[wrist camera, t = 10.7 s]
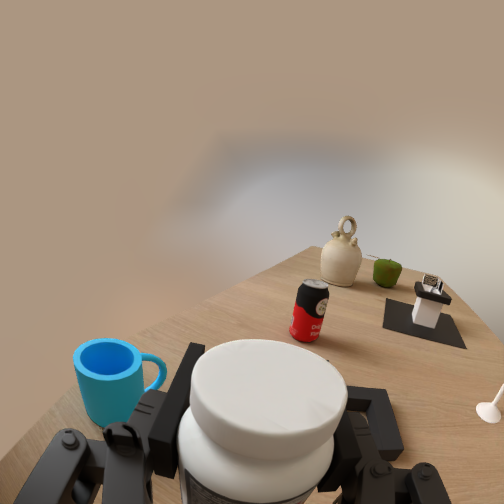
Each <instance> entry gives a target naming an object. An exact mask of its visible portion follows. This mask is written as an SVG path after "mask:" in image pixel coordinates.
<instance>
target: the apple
mask: <svg viewBox="0 0 504 504" xmlns="http://www.w3.org/2000/svg"><path fill="white" fill-rule="evenodd" d="M401 271H402V266H401V265H400V264H399V263H397V262H394V261H392V260H391V259H390V260H386V259H378V260H376V261H375V263H374V272H373V280H374V281H375V282H376V283H377V284H378V285H380V286H383V287H388V288H390V287H392V286H394V285H396V283H397V280H398V278H399V276H400V274H401Z"/></svg>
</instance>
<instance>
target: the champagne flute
mask: <svg viewBox="0 0 504 504" xmlns="http://www.w3.org/2000/svg"><path fill="white" fill-rule="evenodd" d="M503 394H504V384H503V385H502V387H501V389H500V391H499V392H498V394H497V396H496V397H495V399H494V401H493V402H492V403H490V402H482V403H479V404H478V405H477V406H476V411H477V413H478V415H479V416H480V417H481V418H482V419H483V420H484V421H486V422H489V423H497V422H499V421H500V419H501V414H500V411H499V409H498V407H497V403H498V402H499V400H500V399H501V397H502V395H503Z"/></svg>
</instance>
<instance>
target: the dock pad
mask: <svg viewBox="0 0 504 504" xmlns="http://www.w3.org/2000/svg"><path fill="white" fill-rule="evenodd" d="M346 387H347V391H348V397H347V403H346V406H345V407H346V410H351V411H363V412H366V415H367V420H368V425H369V429H370V431H371V435H372V436H373V439H374V441H375V444H376V446H377V449H378V452H379V454H380V457H381V459H382V460H385V461H395V460H396V459H397V458H398V456H399V455H400V454H401V452H402V451H403V450H404V447H403V443H402V440H401V436H400V433H399V429H398V426H397V423H396V419H395V416H394V413H393V410H392V406H391V403H390V400H389V397H388V394H387V391H386V389H376V388H365V387H355V386H346Z"/></svg>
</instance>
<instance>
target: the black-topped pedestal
mask: <svg viewBox="0 0 504 504" xmlns="http://www.w3.org/2000/svg"><path fill="white" fill-rule="evenodd" d="M424 276H425V274H424ZM427 276H428V277H429V275H427ZM425 277H426V276H425ZM425 277H423V280H426V279H427V283H428V282H429V281H431V280H432V284H431V282H429V283H430V284H431V285H430V284H429V283H428V284H427V283H426V281H424V283H423V281H422V282H415V286H414V289H415V292H416V296H417V299H416V302H415V306H414V305H410V304H406V303H403V302H399V301H395V300H391V299H388V298H386V305H385V314H384V322H383V328H387V329H391V330H394V331H398V332H402V333H406V334H409V335H413V336H417V337H421V338H425V339H429V340H433V341H437V342H441V343H445V344H449V345H453V346H457V347H461V348H466V346H465V344H464V342H463V340H462V337H461V335H460V333H459V331H458V329H457V327H456V325H455V323H454V321H453V319H452V317H451V316H450V315H448V314H444V313H441V309H442V306H443V304H446V305H450V303H451V300H452V298H451V297H450V296H449V295H448V294H447V293H446V292H445V291H443V287H444V284H443V283H442V281H441V280H440V281H439V278H438V279H436V277H435V279H436V281H439V286H438V282H436V281H435V279H434V282H436V283H434V284H435V285H434V284H433V279H431V277H433V276H431V277H429V279H431V280H429V281H428V278H426V279H425ZM433 278H434V277H433ZM466 349H467V348H466Z"/></svg>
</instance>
